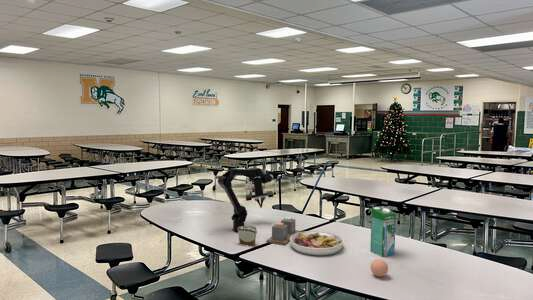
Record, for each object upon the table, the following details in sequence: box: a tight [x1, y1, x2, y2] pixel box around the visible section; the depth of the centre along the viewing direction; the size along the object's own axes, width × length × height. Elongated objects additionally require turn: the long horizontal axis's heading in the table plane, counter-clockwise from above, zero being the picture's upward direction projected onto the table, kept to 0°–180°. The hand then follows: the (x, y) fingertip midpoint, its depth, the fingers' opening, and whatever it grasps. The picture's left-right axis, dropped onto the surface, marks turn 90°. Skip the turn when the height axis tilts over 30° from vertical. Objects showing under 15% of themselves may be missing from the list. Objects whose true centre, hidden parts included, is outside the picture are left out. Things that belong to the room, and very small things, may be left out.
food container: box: [237, 225, 258, 248], centre depth 214 cm, size 12×6×10 cm, turn 65°
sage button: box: [283, 216, 293, 221], centre depth 231 cm, size 4×4×3 cm
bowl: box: [289, 230, 344, 256], centre depth 209 cm, size 30×30×8 cm
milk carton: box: [369, 205, 397, 258], centre depth 200 cm, size 9×9×25 cm
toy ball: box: [370, 258, 389, 278], centre depth 171 cm, size 8×8×8 cm
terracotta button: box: [275, 221, 284, 227], centre depth 219 cm, size 4×4×3 cm
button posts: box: [271, 218, 296, 241], centre depth 226 cm, size 21×7×8 cm, turn 155°
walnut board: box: [265, 229, 301, 246], centre depth 226 cm, size 26×12×1 cm, turn 155°
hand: (261, 207), depth 250 cm, fingers closed
